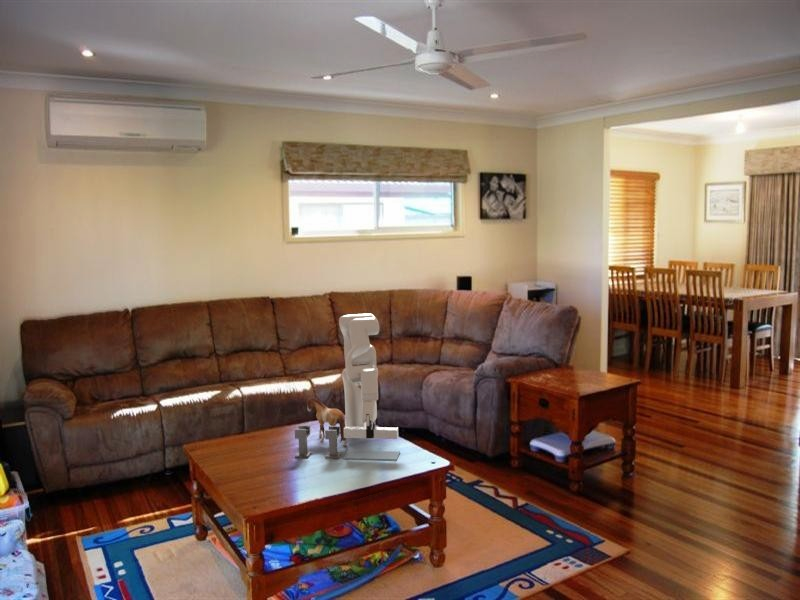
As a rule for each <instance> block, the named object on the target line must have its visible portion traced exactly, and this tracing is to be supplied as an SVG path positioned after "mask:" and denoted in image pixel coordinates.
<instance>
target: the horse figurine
mask: <svg viewBox="0 0 800 600" xmlns="http://www.w3.org/2000/svg"><path fill="white" fill-rule="evenodd" d="M305 399H306V404H307V407H306V408H307V411H308V412H312V409H313V408H314V407H315V410H316V415H315V417H316V420H317V421H318V423H319V430H318V432H319V433H318V434H319V435H318V438H320V442H324V441H325V426H324V425H325V423H328V425H329V426H337V425H339V426H340V441H339V443H342V442H343V441H344V442H343V445H342V446H343V447H347V446H348V440H347V439H348V438H344V428H345V427H346V426H345V424H346V416H345V414H344V413H343V411H342V410H340V409H338V408H330V407H327V406H326V405H325V404H324V403H323V402H322V401H320V400H319V399H318V398H316V397H311V396H310V397H309V396H307V397H305Z"/></svg>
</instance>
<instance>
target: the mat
mask: <svg viewBox="0 0 800 600" xmlns="http://www.w3.org/2000/svg"><path fill="white" fill-rule="evenodd" d="M400 454H401V451H396V450H395V451H392V450H385V451H384V450H357V449H356V450H349V449H348V450H347V451H346V452H345V454H344V455H343V456H342V460H361V461H362V460H365V461H366V460H367V461H392V460H393V461H397V460H398V458H399V456H400Z"/></svg>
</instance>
